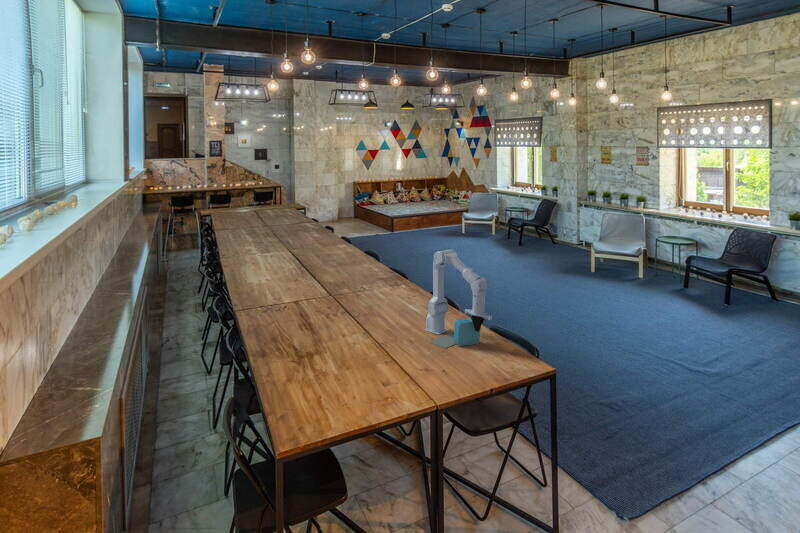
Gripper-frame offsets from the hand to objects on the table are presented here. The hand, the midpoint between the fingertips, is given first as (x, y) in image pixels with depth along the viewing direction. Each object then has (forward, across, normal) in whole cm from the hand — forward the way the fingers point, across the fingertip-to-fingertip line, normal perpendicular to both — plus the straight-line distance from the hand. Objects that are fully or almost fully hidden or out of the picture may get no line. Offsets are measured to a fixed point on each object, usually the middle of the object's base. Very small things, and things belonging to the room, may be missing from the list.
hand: (477, 330), depth 239 cm
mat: (+8, +15, 0) cm, 17 cm away
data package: (+8, +6, 0) cm, 10 cm away
